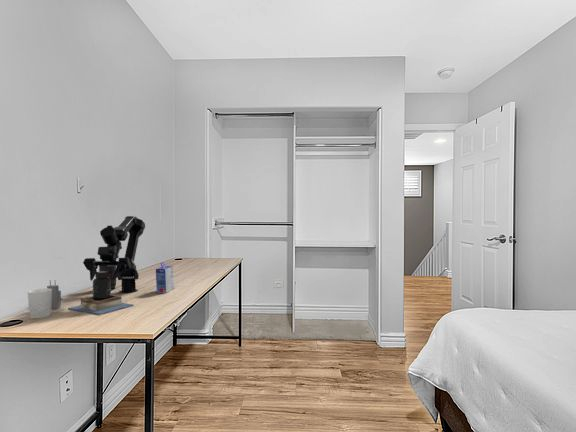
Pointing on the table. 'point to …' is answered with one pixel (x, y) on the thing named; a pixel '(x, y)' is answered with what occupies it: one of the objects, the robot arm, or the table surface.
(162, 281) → the ink cartridge box
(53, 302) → the power adapter
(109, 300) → the foundation socket
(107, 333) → the table surface
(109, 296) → the supplement bottle
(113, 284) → the camera lens
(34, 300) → the white cup
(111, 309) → the board
